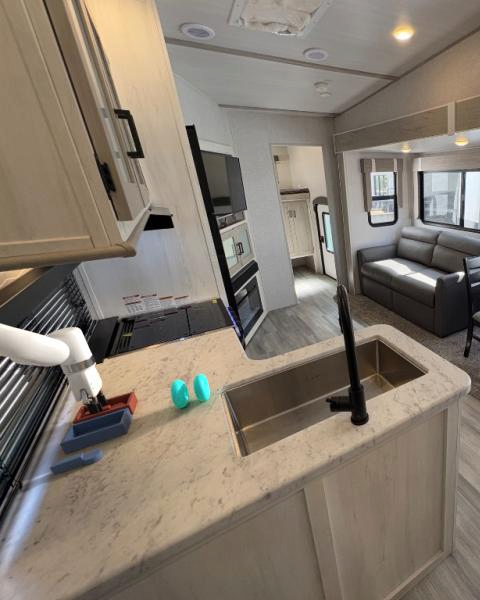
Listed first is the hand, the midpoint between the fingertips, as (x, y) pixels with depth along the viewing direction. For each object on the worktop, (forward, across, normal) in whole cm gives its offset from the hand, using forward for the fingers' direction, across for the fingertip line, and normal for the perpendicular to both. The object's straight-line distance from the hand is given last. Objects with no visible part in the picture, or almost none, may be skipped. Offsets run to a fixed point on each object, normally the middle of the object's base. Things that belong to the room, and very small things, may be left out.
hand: (99, 409), depth 106 cm
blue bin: (+3, +11, +2) cm, 12 cm away
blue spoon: (+3, +23, 0) cm, 23 cm away
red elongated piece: (+3, 0, +2) cm, 3 cm away
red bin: (+3, 0, +2) cm, 4 cm away
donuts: (+3, +10, +28) cm, 30 cm away
